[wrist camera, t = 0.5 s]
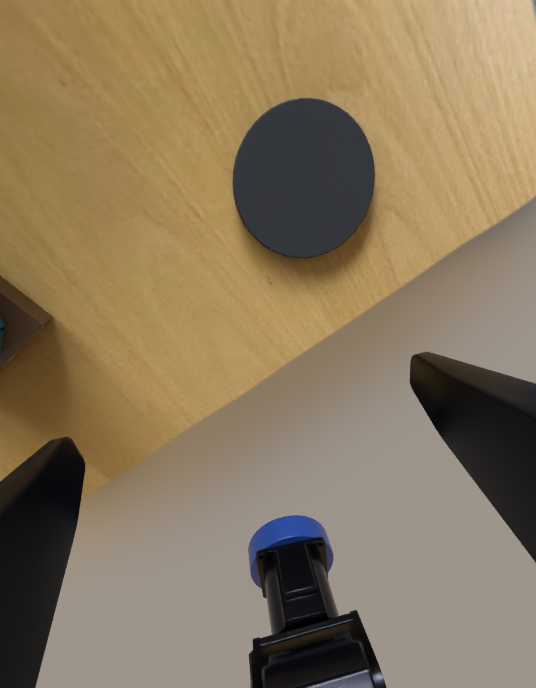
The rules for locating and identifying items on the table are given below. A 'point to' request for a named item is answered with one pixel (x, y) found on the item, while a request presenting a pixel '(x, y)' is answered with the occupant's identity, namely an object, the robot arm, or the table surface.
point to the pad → (303, 178)
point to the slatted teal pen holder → (1, 333)
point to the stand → (18, 320)
